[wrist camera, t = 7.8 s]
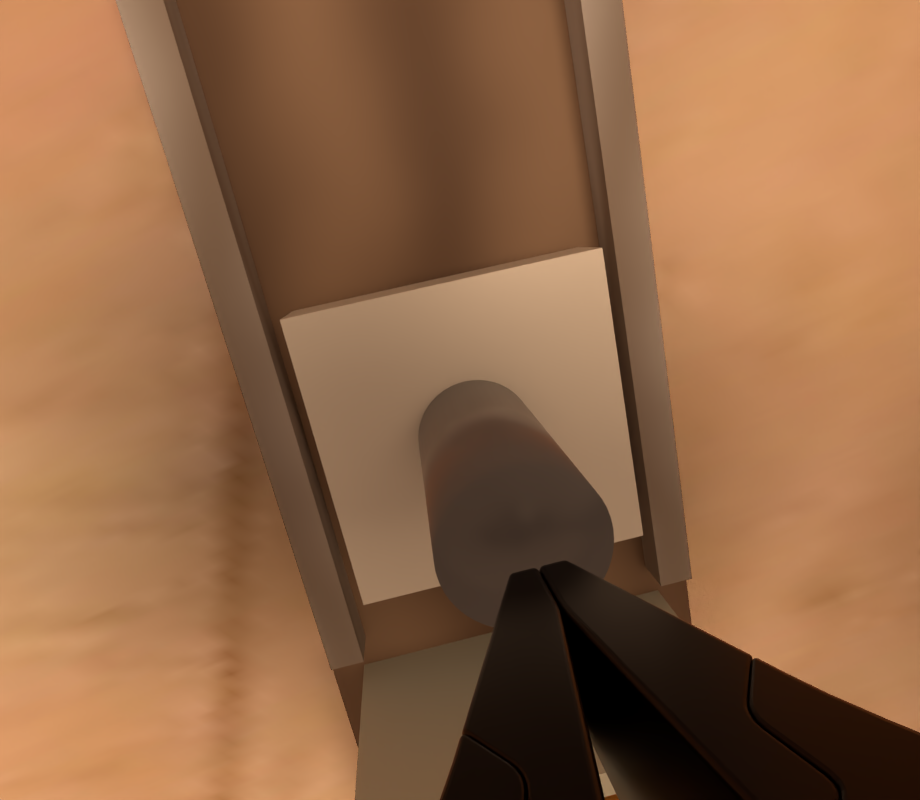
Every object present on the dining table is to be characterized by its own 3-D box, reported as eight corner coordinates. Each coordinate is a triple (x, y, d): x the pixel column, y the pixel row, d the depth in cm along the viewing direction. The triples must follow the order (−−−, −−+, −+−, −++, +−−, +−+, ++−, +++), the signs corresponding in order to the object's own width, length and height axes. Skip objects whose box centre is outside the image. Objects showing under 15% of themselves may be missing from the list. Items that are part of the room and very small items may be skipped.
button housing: (657, 589, 20) (764, 730, 14) (677, 732, 22) (780, 910, 16) (364, 664, 20) (352, 841, 14) (406, 804, 21) (411, 1014, 15)
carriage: (578, 247, 17) (736, 249, 9) (617, 505, 19) (773, 687, 11) (293, 310, 16) (203, 371, 9) (366, 567, 18) (347, 801, 11)
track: (575, -129, 16) (611, -201, 13) (684, 695, 23) (721, 752, 21) (123, -42, 15) (68, -100, 13) (379, 775, 23) (378, 845, 20)
